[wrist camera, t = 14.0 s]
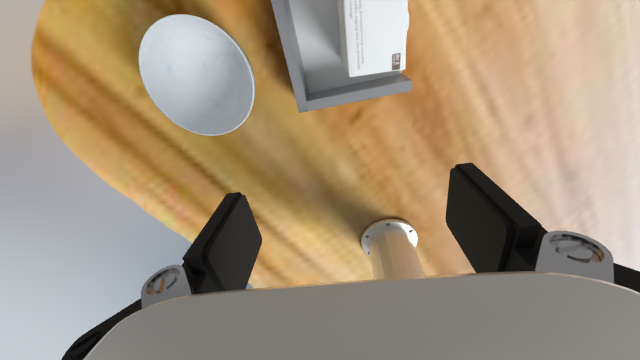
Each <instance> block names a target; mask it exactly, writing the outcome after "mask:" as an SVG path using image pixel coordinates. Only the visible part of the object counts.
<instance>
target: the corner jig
mask: <svg viewBox="0 0 640 360" xmlns="http://www.w3.org/2000/svg"><path fill="white" fill-rule="evenodd" d="M271 3H272V7H273V11H274V15H275V19H276V23H277V27H278V31H279V35H280V39H281V43H282V47H283V51H284V55H285V58H286V62H287V66H288V70H289V74H290V78H291V82H292V86H293V90H294V94H295V98H296V102H297V106H298V110H299V113H302V112H307V111H312V110H317V109H322V108H327V107H332V106H337V105H342V104H347V103H352V102H357V101H362V100H367V99H372V98H377V97H382V96H387V95H392V94H397V93H402V92H407V91H412V80H411V79H410V78H408V77H406V76H405V75H403V74H402V70H398V71H390V72H383V73H376V74H368V75H361V76H354V77H349V75H348V73H347V70H346V69H345V67H344V65H343V63H342V61H341V59H340V40H339V26H338V15H337V6H336V0H271Z"/></svg>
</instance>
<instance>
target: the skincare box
mask: <svg viewBox="0 0 640 360" xmlns="http://www.w3.org/2000/svg"><path fill="white" fill-rule="evenodd" d="M336 6H337V15H338V26H339V40H340V59H341V61H342V63H343V65H344V67H345V69H346V70H347V73H348V75H349V77H354V76H361V75H368V74H376V73H383V72H390V71H398V70H404V69H405V63H406V34H407V30H408V26H409V13H408V0H336Z"/></svg>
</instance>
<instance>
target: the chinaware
mask: <svg viewBox="0 0 640 360" xmlns="http://www.w3.org/2000/svg"><path fill="white" fill-rule="evenodd" d="M139 70H140V74H141V78H142V81H143V84H144V86H145V89H146V91H147V93H148V94H149V96H150V98H151V99H152V101H153V102H154V104H155V105H156V106H157V107H158V109H159V110H160V111H161V112H162V113H163V114H164V115H165V116H166V117H167V118H169V119H170V120H171V121H172V122H174V123H175V124H177V125H178V126H180V127H182V128H184V129H186V130H188V131H191V132H193V133H197V134H201V135H208V136H215V135H222V134H226V133H229V132H231V131H233V130H235V129H236V128H238V127H239V126H240V125H241V124H242V123H243V122H244V121H245V120H246V118H247V117H248V115H249V113H250V111H251V109H252V106H253V102H254V97H255V79H254V74H253V70H252V67H251V64H250V62H249V60H248V58H247V56H246V54H245V53H244V51H243V49H242V48H241V47H240V45H239V44H238V43H237V42H236V41H235V40H234V39H233V38H232V37H231V36H230V35H229V34H228V33H227V32H226V31H224V30H223V29H222V28H220V27H219V26H217V25H216V24H214V23H212V22H210V21H208V20H206V19H203V18H201V17H197V16H193V15H188V14H175V15H169V16H166V17H163V18H161V19H159V20H158V21H156V22H155V23H154V24H152V25H151V26H150V27H149V29H148V30H147V31H146V33H145V34H144V36H143V38H142V41H141V44H140V48H139Z"/></svg>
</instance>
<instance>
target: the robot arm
mask: <svg viewBox="0 0 640 360" xmlns="http://www.w3.org/2000/svg"><path fill="white" fill-rule="evenodd" d="M446 223H447V226H448V227H449V229H450V231H451V232H452V234H453V236H454V237H455V239H456V240H457V242H458V244H459V245H460V247H461V249H462V250H463V252H464V254H465V255H466V257H467V258H468V260H469V262H470V263H471V265H472V267H473V268H474V270H475V272H476V273H470V274H451V275H436V276H425V274H424V271H423V269H422V266H421V264H420V261H419V258H418V256H417V253H416V251H415V247H416V245H417V242H418V236H417V233H416V231H415V229H414V227H413V226H412V225H411V224H409V223H407V222H405V221H403V220H399V219H385V220H381V221H378V222H375V223H373V224H372V225H370V226H369V227H368V228H367V229H366V230H365V231H364V233H363V235H362V238H361V244H362V248H363V250H364V252H365V253H366V254H367V255H368V256H370V257H371V263H372V269H373V274H374V280H362V281H348V282H334V283H321V284H307V285H294V286H281V287H268V288H255V289H246V286H247V283H248V280H249V278H250V275H251V272H252V269H253V266H254V263H255V261H256V258H257V255H258V252H259V249H260V247H261V244H262V237H261V234H260V232H259V229H258V226H257V224H256V221H255V219H254V216H253V214H252V211H251V209H250V206H249V204H248V201H247V199H246V196H245V195H242V194H241V193H240V192H237V193H229V194H227V195H226V196H225V198H224V199H223V200H222V202H221V203H220V205H219V206H218V208H217V209H216V211H215V212H214V213H213V215H212V216H211V218H210V219H209V221H208V222H207V223H206V225H205V226H204V228H203V229H202V231H201V232H200V234H199V235H198V236H197V238H196V239H195V241H194V242H193V244H192V245H191V247H190V248H189V249H188V251H187V252H186V254H185V255H184V257H183V260H184V263H183V264H182V266H180V265H171V266H167V267H165V268H163V269H161V270H159V271H158V272H156V273H155V274H154V275H152V276H151V277H150V278H149V279H148V280H147V281H146V283H145V284H144V286H143V287H142V291H141V299H139V300H137V301H136V302H134V303H133V304H131V305H129V306H128V307H126V308H125V309H123V310H121V311H120V312H118V313H117V314H115V315H114V316H112V317H110V318H109V319H107V320H106V321H104V322H102V323H101V324H99V325H97V326H96V327H94V328H93V329H91V330H89V331H88V332H87V333H85V334H84V335H82V336H81V337H80V338H78V339H77V340H76V341H75V342H74V343H73V344H72V346H71V347H70V348H69V349H68V350H67V351H66V353H65V355H64V356H63V358H62V360H640V272H639V271H636V270H633V269H630V268H627V267H624V266H621V265H618V264H615V263H613V257H612V254H611V252H610V251H609V250H608V249H607V248H606V247H605V246H604V245H602V244H601V243H599V242H598V241H596V240H594V239H592V238H590V237H588V236H585V235H582V234H579V233H574V232H569V231H552V232H549V233H548V232H547V231H546V230H545V229H544V228H543V227H542V225H541V224H540V223H539V222H538V221H537V220H536V219H534V218H533V217H532V216H531V215H530V214H529V213H528V212H527V211H525V210H524V209H523V208H522V207H521V206H520V205H519V204H518V203H516V202H515V201H514V200H513V199H512V198H511V197H510V196H509V195H508V194H506V193H505V192H504V191H503V190H502V189H501V188H500V187H499V186H497V185H496V184H495V183H494V182H493V181H492V180H491V179H490V178H489V177H487V176H486V175H485V174H484V173H483V172H482V171H481V170H480V169H478V168H477V167H476V166H475V165H474V164H473V163H464V164H457V165H455V168H452V169H451V171H450V179H449V189H448V199H447V209H446Z"/></svg>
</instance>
